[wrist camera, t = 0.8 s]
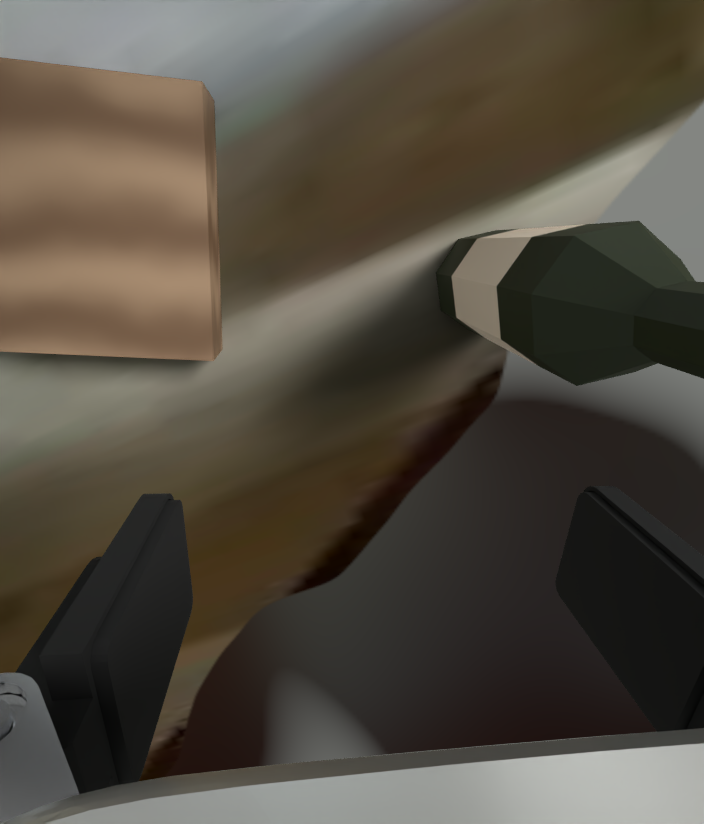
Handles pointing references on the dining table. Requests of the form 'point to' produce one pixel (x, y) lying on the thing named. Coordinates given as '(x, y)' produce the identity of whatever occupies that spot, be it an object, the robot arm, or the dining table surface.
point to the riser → (107, 214)
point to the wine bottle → (578, 299)
